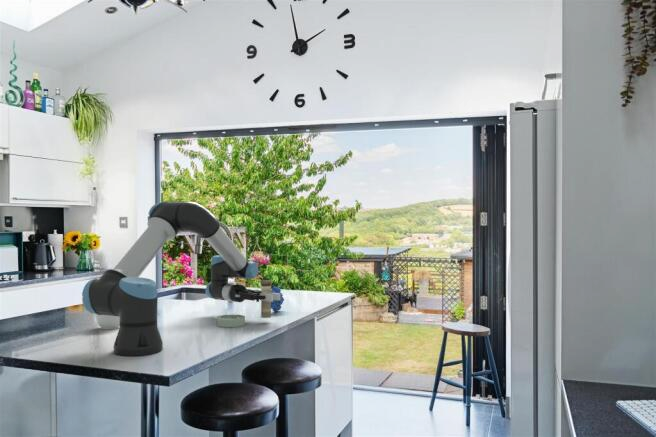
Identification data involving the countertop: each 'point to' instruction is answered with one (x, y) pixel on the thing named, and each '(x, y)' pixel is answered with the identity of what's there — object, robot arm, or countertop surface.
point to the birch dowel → (265, 304)
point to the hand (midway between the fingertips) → (275, 297)
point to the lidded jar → (108, 321)
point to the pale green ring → (231, 320)
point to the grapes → (276, 303)
